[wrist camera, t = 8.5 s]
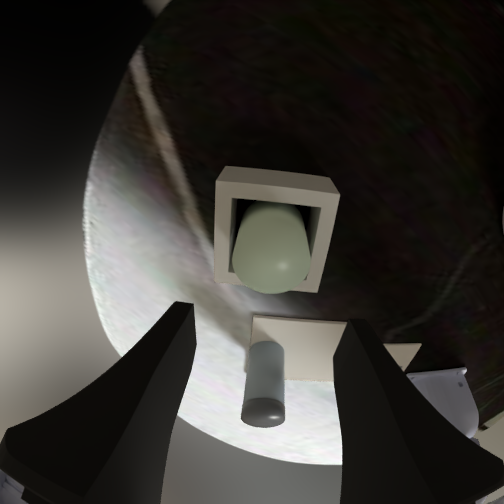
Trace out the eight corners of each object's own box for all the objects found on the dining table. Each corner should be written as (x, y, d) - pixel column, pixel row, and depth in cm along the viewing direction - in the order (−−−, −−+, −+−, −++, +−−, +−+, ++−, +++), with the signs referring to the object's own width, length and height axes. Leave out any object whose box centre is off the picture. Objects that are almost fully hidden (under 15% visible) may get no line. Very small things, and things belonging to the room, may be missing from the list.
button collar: (329, 177, 16) (340, 194, 13) (312, 264, 19) (317, 292, 16) (225, 165, 16) (215, 180, 13) (222, 255, 19) (213, 282, 17)
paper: (365, 322, 21) (365, 325, 21) (337, 379, 26) (338, 381, 25) (253, 314, 22) (253, 317, 21) (246, 373, 26) (246, 376, 25)
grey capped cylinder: (287, 341, 23) (287, 411, 17) (282, 364, 24) (281, 428, 19) (249, 339, 23) (241, 408, 17) (247, 361, 24) (240, 425, 19)
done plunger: (308, 201, 15) (317, 232, 12) (298, 256, 17) (303, 297, 14) (242, 193, 16) (234, 223, 12) (239, 250, 17) (230, 289, 14)
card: (420, 343, 23) (421, 345, 22) (392, 385, 26) (392, 387, 26) (376, 343, 23) (376, 346, 22) (351, 387, 26) (351, 389, 26)
